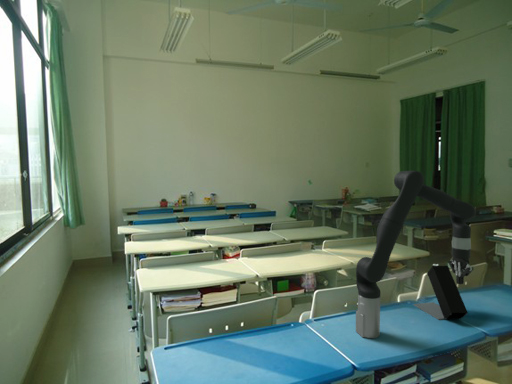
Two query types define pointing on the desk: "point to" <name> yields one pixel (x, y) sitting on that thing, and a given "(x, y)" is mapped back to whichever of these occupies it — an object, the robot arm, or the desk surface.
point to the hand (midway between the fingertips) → (459, 283)
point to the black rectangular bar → (446, 292)
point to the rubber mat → (431, 309)
